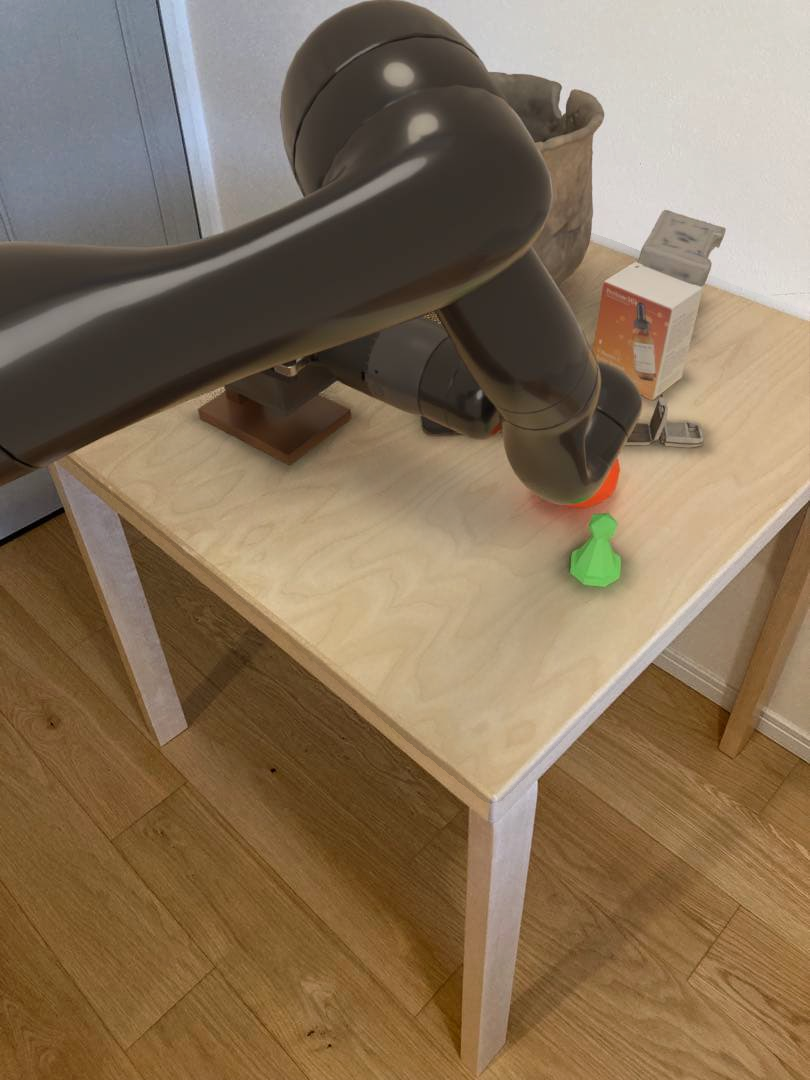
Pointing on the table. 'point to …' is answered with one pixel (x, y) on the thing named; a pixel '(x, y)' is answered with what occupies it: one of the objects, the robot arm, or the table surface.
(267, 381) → the can stand
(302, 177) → the robot arm
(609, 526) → the game piece
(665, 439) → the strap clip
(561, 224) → the pot
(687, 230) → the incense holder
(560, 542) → the table surface
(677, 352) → the small box
